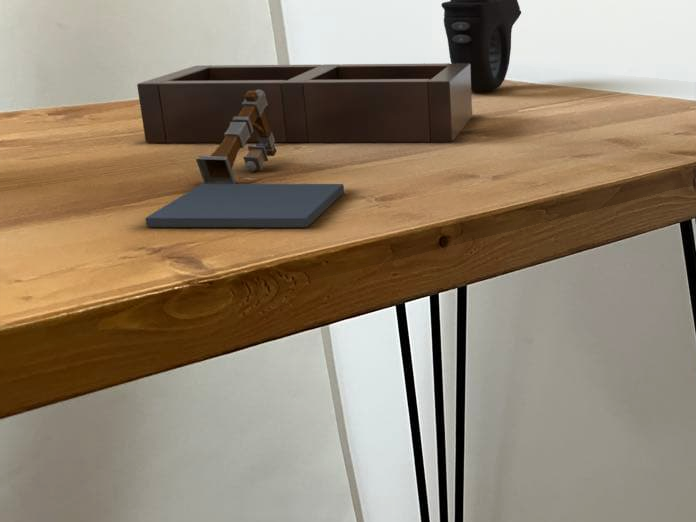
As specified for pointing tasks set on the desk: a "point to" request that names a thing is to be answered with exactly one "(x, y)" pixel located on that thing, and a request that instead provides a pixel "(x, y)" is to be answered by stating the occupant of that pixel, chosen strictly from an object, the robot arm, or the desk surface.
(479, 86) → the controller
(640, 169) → the desk surface
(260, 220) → the coaster
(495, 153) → the desk surface
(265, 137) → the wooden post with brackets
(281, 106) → the divided wooden tray
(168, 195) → the desk surface
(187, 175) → the desk surface
